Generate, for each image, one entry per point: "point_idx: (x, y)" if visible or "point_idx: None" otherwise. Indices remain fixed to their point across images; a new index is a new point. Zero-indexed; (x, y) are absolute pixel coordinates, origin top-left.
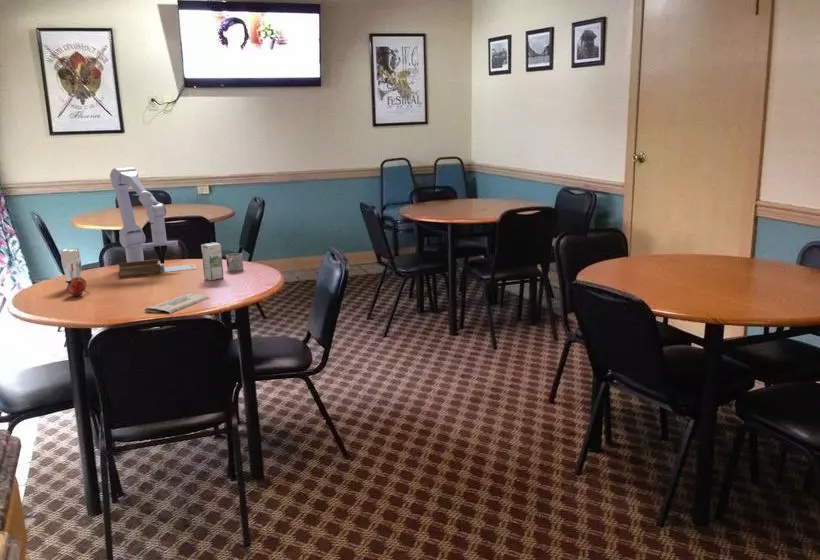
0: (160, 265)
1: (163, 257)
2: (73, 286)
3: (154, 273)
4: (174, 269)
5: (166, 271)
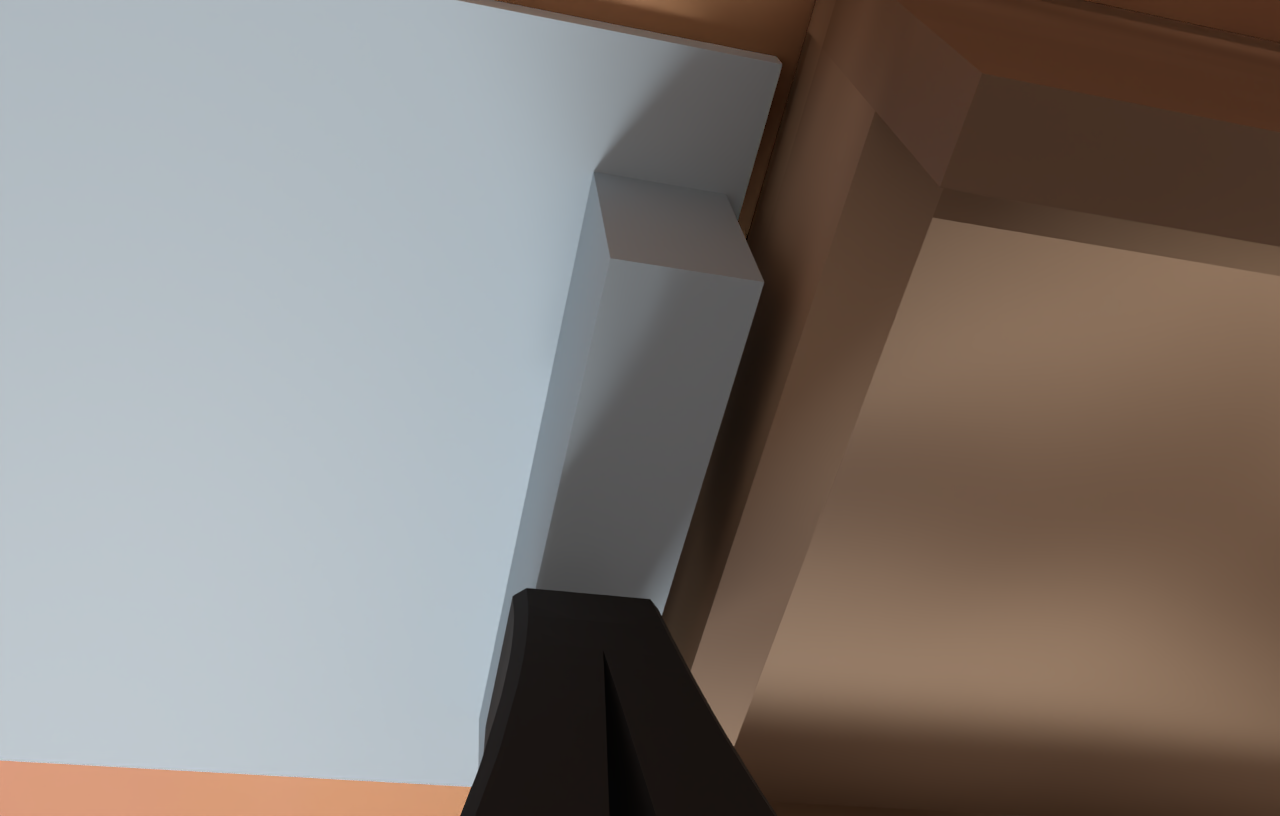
0: None
1: (542, 787)
2: None
3: (1079, 2)
4: (154, 266)
5: (539, 81)
